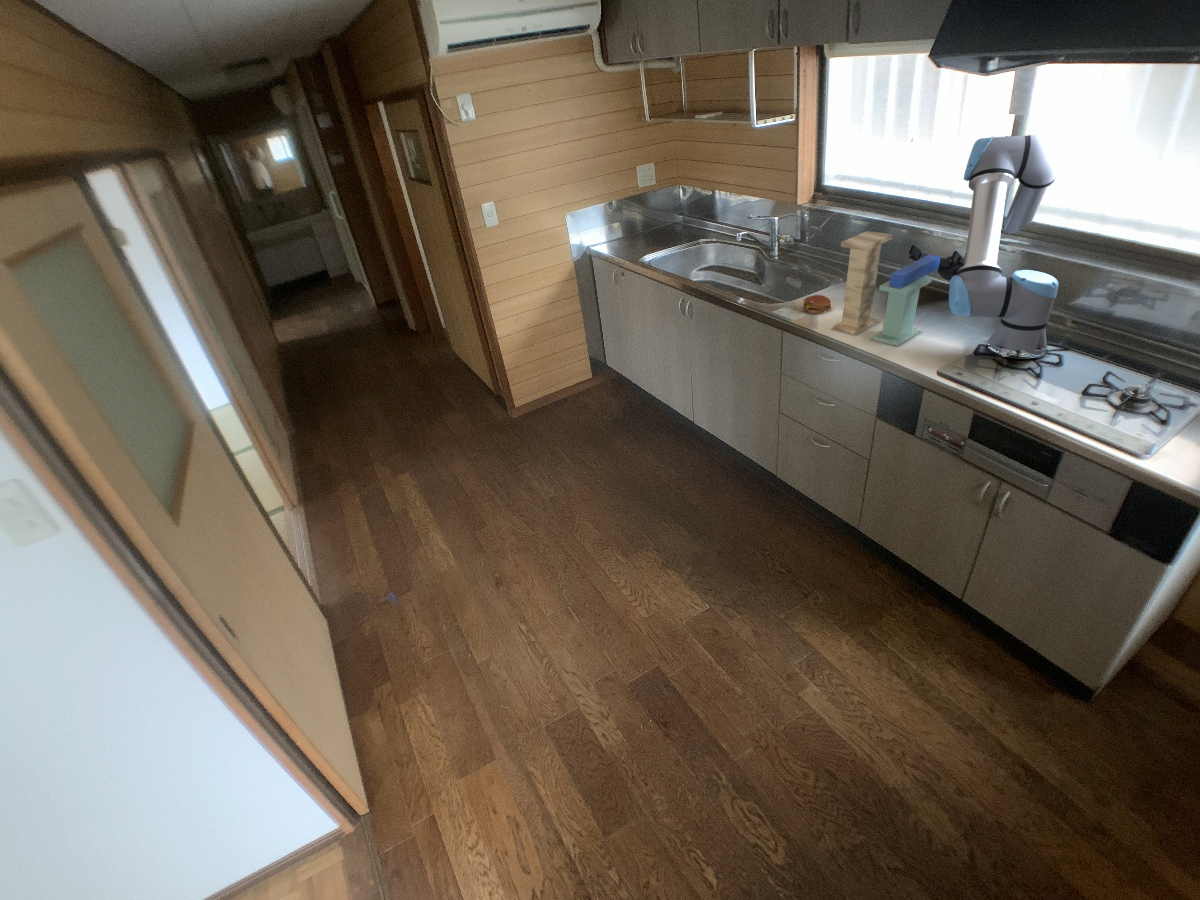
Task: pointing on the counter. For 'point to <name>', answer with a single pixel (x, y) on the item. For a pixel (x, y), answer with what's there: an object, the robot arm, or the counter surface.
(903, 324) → the low pedestal
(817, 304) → the burger
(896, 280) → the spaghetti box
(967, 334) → the counter surface
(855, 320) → the tall pedestal
